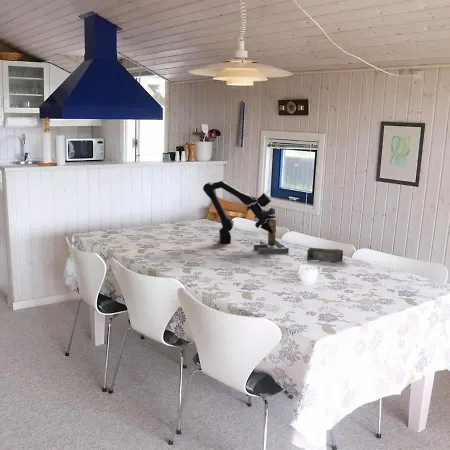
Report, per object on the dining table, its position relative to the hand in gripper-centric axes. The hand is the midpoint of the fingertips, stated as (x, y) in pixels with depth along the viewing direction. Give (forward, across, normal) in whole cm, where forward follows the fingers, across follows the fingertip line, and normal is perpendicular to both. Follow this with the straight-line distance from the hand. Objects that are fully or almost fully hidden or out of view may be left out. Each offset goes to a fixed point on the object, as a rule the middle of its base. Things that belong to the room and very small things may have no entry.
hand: (274, 232), depth 324 cm
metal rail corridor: (+6, -6, +7) cm, 11 cm away
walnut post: (+5, 0, +7) cm, 8 cm away
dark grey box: (+32, -10, -18) cm, 38 cm away
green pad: (+5, +1, +8) cm, 10 cm away
